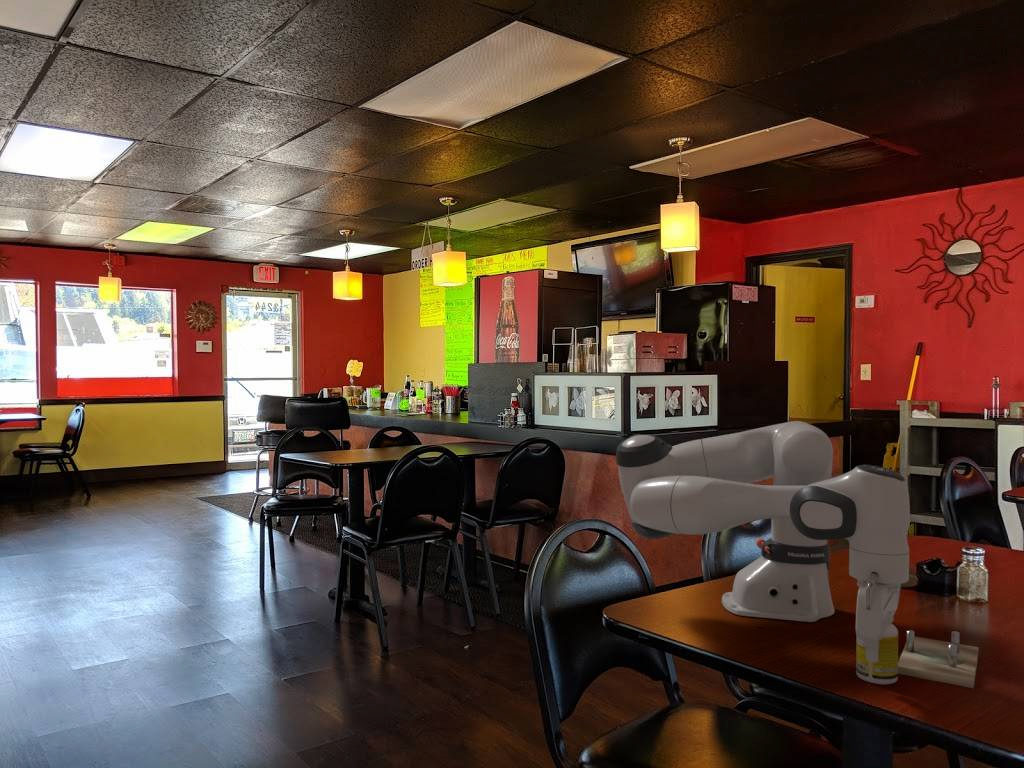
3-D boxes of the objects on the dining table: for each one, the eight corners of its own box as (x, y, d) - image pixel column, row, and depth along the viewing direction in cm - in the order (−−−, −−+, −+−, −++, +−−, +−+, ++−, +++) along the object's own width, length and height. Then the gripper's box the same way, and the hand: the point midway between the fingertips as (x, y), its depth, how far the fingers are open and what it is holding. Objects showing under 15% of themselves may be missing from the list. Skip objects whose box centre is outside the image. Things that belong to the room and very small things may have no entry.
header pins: (956, 668, 129) (956, 646, 129) (903, 658, 133) (903, 637, 133) (959, 652, 136) (959, 632, 136) (909, 643, 141) (909, 623, 141)
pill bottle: (902, 677, 128) (903, 610, 128) (891, 689, 123) (892, 619, 123) (862, 667, 132) (864, 602, 132) (850, 678, 127) (851, 610, 127)
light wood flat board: (973, 688, 124) (973, 680, 124) (896, 673, 130) (896, 665, 130) (978, 654, 139) (978, 646, 139) (909, 642, 145) (909, 635, 145)
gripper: (891, 584, 117) (889, 676, 117) (907, 557, 134) (906, 637, 134) (845, 577, 120) (844, 667, 120) (867, 552, 137) (866, 630, 138)
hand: (877, 651), depth 128 cm, fingers open, 8 cm apart
